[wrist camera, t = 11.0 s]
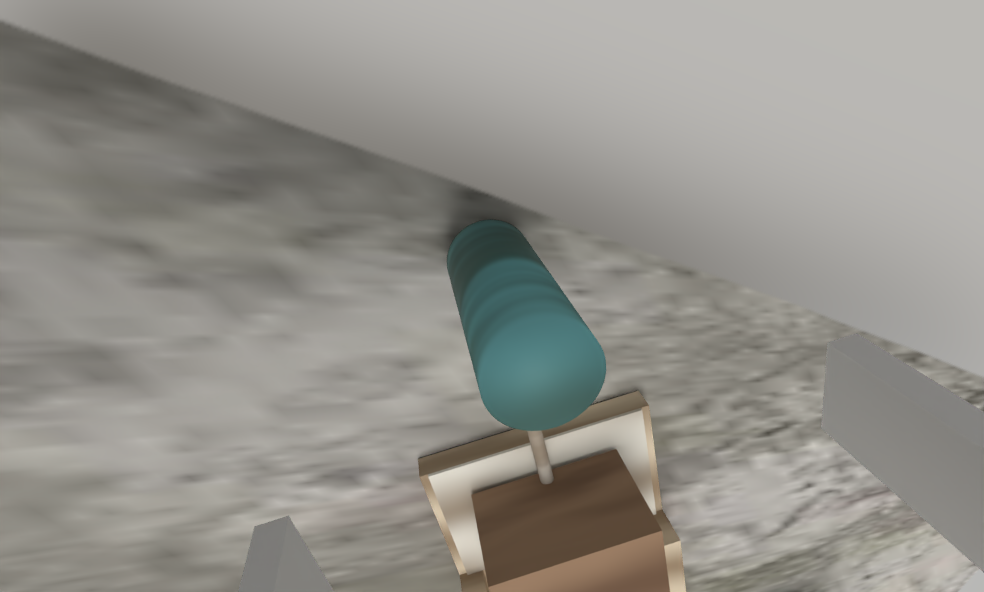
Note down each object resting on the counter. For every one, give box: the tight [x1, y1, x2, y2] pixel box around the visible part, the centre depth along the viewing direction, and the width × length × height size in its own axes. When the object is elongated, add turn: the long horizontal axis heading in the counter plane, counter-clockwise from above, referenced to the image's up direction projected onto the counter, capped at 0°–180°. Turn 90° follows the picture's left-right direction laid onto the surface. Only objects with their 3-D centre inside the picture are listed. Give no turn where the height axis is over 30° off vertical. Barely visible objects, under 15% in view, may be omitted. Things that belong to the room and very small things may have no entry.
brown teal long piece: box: [447, 220, 670, 592], centre depth 25 cm, size 23×9×10 cm, turn 13°
